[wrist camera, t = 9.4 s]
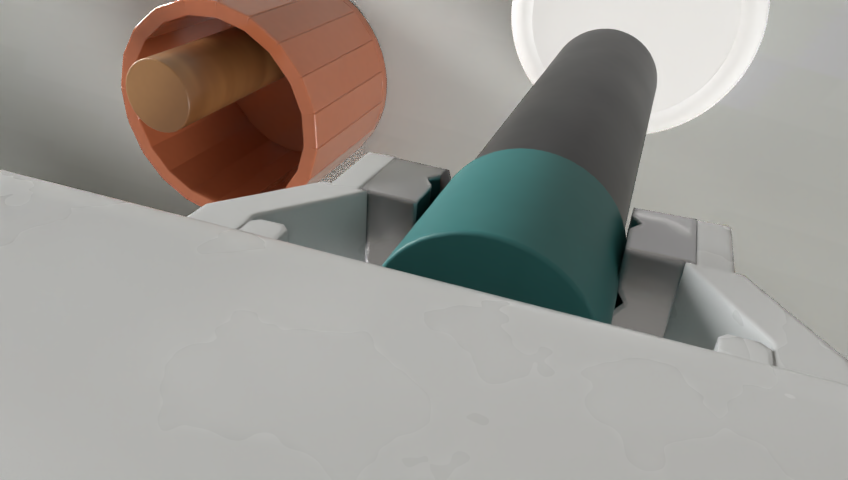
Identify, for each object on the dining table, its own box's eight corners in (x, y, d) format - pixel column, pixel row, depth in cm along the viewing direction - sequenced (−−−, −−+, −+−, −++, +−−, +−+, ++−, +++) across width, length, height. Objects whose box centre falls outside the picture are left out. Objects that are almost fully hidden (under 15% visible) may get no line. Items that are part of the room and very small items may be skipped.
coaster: (484, 23, 33) (463, 38, 30) (630, -179, 27) (621, -185, 24) (643, 155, 33) (637, 183, 30) (821, -18, 27) (835, -4, 25)
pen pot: (195, 78, 40) (94, 121, 33) (271, -71, 34) (168, -55, 28) (327, 193, 41) (253, 257, 34) (423, 65, 35) (358, 112, 28)
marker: (524, 85, 20) (325, 326, 10) (600, -1, 19) (458, 180, 8) (604, 155, 21) (492, 469, 10) (686, 78, 19) (660, 359, 8)
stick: (261, 40, 37) (115, 98, 28) (286, -4, 35) (139, 41, 26) (303, 78, 37) (172, 147, 28) (330, 35, 35) (200, 94, 26)
